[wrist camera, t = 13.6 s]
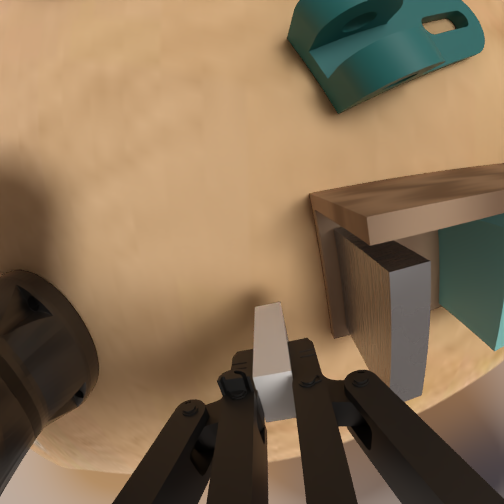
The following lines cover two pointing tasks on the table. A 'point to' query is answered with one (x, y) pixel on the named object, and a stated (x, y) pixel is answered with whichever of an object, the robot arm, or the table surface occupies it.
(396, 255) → the bookend
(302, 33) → the bracket
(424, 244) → the book rack
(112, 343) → the table surface
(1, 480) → the robot arm
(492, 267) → the teal book
